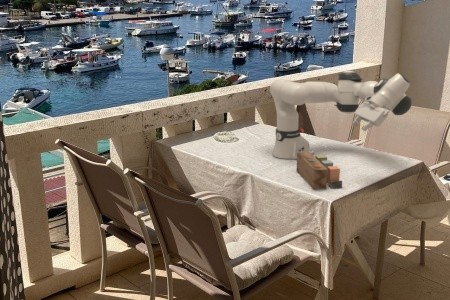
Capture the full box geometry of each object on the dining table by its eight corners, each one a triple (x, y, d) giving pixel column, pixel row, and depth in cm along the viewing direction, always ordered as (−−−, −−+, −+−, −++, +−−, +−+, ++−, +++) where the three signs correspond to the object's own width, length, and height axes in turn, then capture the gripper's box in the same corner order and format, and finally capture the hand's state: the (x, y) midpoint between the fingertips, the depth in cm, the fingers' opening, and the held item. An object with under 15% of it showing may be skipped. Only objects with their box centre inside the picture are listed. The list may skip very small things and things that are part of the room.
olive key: (323, 169, 279) (324, 154, 276) (326, 172, 275) (327, 157, 273) (314, 170, 278) (315, 155, 276) (317, 173, 274) (318, 157, 272)
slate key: (329, 175, 271) (330, 160, 268) (332, 178, 267) (333, 162, 265) (320, 176, 270) (321, 160, 268) (323, 179, 266) (324, 163, 264)
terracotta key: (335, 181, 263) (336, 166, 260) (338, 184, 259) (339, 168, 257) (326, 182, 262) (327, 166, 260) (329, 185, 258) (330, 169, 256)
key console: (322, 168, 281) (323, 150, 279) (341, 187, 256) (343, 167, 254) (296, 170, 279) (297, 151, 276) (313, 189, 254) (314, 169, 252)
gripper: (395, 113, 246) (373, 137, 246) (373, 105, 265) (353, 127, 265) (386, 104, 243) (364, 128, 244) (365, 96, 263) (344, 118, 263)
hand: (358, 127), depth 255 cm, fingers open, 8 cm apart
